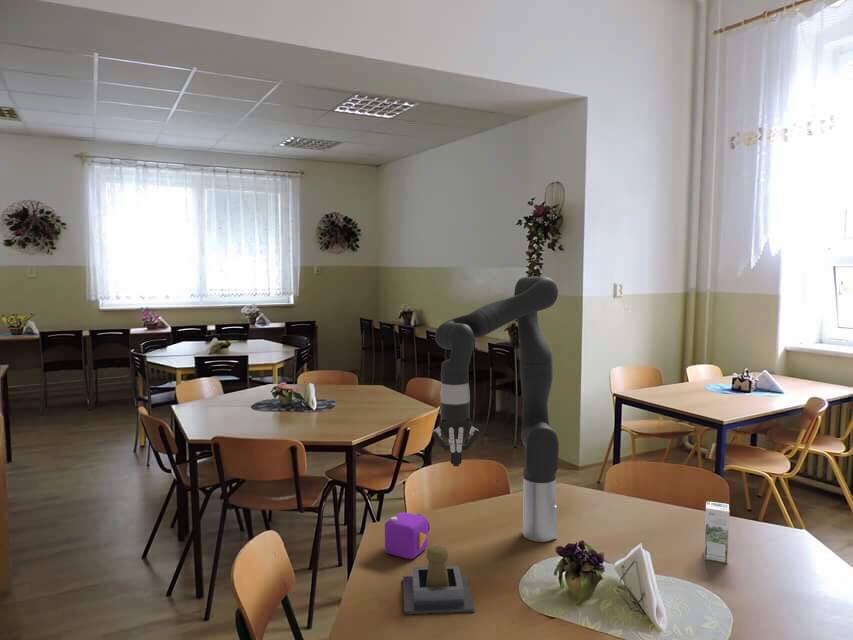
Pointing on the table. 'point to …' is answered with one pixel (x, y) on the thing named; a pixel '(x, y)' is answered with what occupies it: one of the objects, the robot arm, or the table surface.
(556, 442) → the robot arm
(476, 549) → the table surface
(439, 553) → the cork
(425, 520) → the toy camera
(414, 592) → the collar mount
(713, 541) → the syrup box
